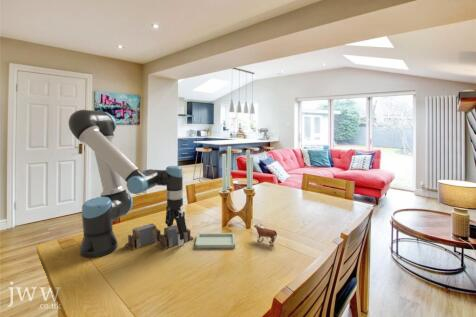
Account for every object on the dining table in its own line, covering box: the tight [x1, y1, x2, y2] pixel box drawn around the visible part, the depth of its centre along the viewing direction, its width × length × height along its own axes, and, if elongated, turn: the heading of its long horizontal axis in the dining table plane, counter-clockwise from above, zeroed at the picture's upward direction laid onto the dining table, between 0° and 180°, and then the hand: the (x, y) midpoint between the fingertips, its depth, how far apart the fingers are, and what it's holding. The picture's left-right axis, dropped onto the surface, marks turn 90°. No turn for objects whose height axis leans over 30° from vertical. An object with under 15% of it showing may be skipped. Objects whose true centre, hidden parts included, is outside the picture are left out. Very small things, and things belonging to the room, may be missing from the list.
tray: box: [194, 232, 236, 250], centre depth 124 cm, size 19×13×2 cm
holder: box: [124, 227, 161, 251], centre depth 122 cm, size 16×6×5 cm, turn 133°
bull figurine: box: [253, 222, 278, 246], centre depth 125 cm, size 4×13×8 cm, turn 51°
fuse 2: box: [163, 224, 186, 248], centre depth 123 cm, size 10×4×8 cm, turn 133°
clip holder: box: [156, 227, 194, 251], centre depth 123 cm, size 16×6×5 cm, turn 133°
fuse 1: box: [132, 222, 157, 248], centre depth 122 cm, size 10×4×8 cm, turn 133°
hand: (175, 241), depth 124 cm, fingers open, 9 cm apart
